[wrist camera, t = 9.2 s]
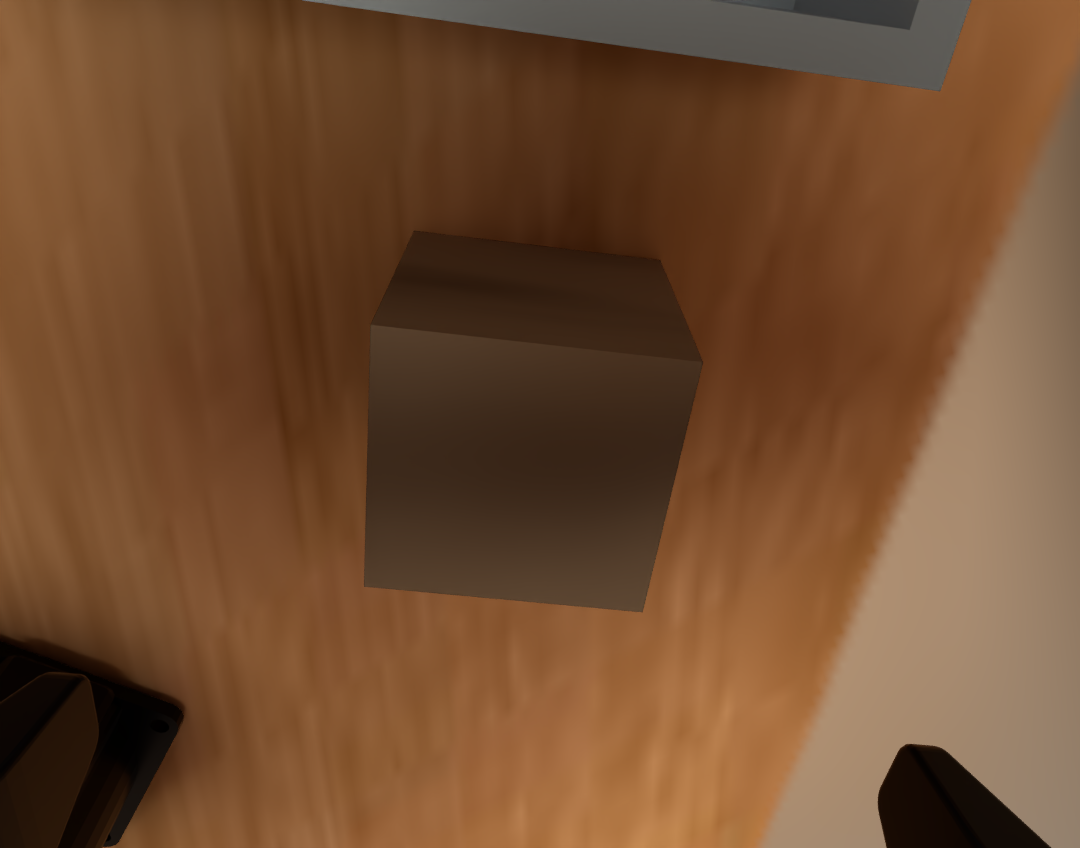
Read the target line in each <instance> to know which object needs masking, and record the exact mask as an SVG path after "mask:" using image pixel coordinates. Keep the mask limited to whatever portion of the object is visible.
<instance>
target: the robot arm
mask: <svg viewBox="0 0 1080 848" xmlns="http://www.w3.org/2000/svg"><path fill="white" fill-rule="evenodd" d="M183 718H184V715H183V713H182V711H181V710H180V709H179V708H178V707H177V706H175V705H173V704H171V703H169V702H166V701H163V700H160V699H158V698H155V697H152V696H149V695H147V694H144V693H141V692H138V691H136V690H133V689H130V688H127V687H125V686H122V685H119V684H116V683H114V682H111V681H108V680H105V679H103V678H100V677H97V676H94V675H92V674H89V673H86V672H83V671H81V670H78V669H75V668H72V667H70V666H67V665H64V664H61V663H59V662H56V661H53V660H50V659H48V658H45V657H42V656H39V655H37V654H34V653H31V652H28V651H26V650H23V649H20V648H17V647H15V646H12V645H9V644H6V643H4V642H1V641H0V848H102V847H110V846H113V845H116V844H117V843H118V842H119V840H120V839H121V837H122V835H123V833H124V831H125V829H126V827H127V826H128V824H129V822H130V820H131V818H132V816H133V814H134V813H135V811H136V809H137V807H138V805H139V803H140V801H141V800H142V798H143V796H144V794H145V792H146V790H147V788H148V786H149V785H150V783H151V781H152V779H153V777H154V775H155V773H156V772H157V770H158V768H159V766H160V764H161V762H162V760H163V759H164V757H165V755H166V753H167V751H168V749H169V747H170V746H171V744H172V742H173V740H174V738H175V736H176V734H177V732H178V730H179V728H180V726H181V724H182V722H183ZM878 810H879V816H880V820H881V824H882V829H883V834H884V838H885V842H886V847H887V848H1051V847H1050V846H1049V845H1048V844H1047V843H1045V842H1044V841H1043V840H1042V839H1041V838H1040V837H1039V836H1038V835H1037V834H1036V833H1035V832H1033V830H1031V829H1030V828H1029V827H1028V826H1027V825H1026V824H1025V823H1024V822H1022V820H1021V819H1019V818H1018V817H1017V816H1016V815H1015V814H1014V813H1013V812H1012V811H1011V810H1010V809H1008V807H1006V806H1005V805H1004V804H1003V803H1002V802H1001V801H1000V800H999V799H998V798H997V797H996V796H995V795H993V794H992V793H991V792H990V791H989V790H988V789H987V788H986V787H985V786H984V785H983V784H981V783H980V782H979V781H978V780H977V779H976V778H975V777H974V776H973V775H971V773H970V772H968V771H967V770H966V769H965V768H964V767H963V766H962V765H961V764H960V763H959V762H958V761H957V760H955V759H954V758H953V757H952V756H951V755H950V754H949V753H948V752H946V751H945V750H943V749H942V748H940V747H936V746H929V745H917V744H906V745H905V746H903V747H902V748H900V750H899V751H898V753H897V755H896V757H895V759H894V761H893V763H892V765H891V767H890V769H889V771H888V773H887V775H886V777H885V779H884V781H883V784H882V785H881V787H880V790H879V795H878Z"/></svg>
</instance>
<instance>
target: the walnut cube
mask: <svg viewBox="0 0 1080 848" xmlns="http://www.w3.org/2000/svg"><path fill="white" fill-rule="evenodd" d="M702 364H703V361H702V359H701V356H700V354H699V351H698V349H697V347H696V344H695V342H694V340H693V337H692V335H691V332H690V330H689V328H688V325H687V323H686V321H685V318H684V316H683V313H682V311H681V309H680V306H679V304H678V301H677V299H676V297H675V294H674V292H673V290H672V287H671V285H670V282H669V280H668V278H667V275H666V273H665V271H664V268H663V266H662V263H661V261H660V260H654V259H646V258H637V257H629V256H620V255H612V254H604V253H595V252H587V251H579V250H570V249H562V248H553V247H545V246H537V245H528V244H520V243H512V242H503V241H495V240H487V239H478V238H470V237H461V236H453V235H445V234H436V233H428V232H420V231H414V232H413V234H412V236H411V238H410V241H409V243H408V245H407V247H406V249H405V251H404V254H403V256H402V258H401V260H400V262H399V264H398V267H397V269H396V271H395V273H394V275H393V277H392V280H391V282H390V284H389V286H388V288H387V290H386V293H385V295H384V297H383V299H382V301H381V303H380V306H379V308H378V310H377V312H376V314H375V316H374V318H373V321H372V323H371V327H370V367H369V408H368V448H367V488H366V528H365V569H364V587H374V588H385V589H396V590H407V591H418V592H429V593H439V594H450V595H461V596H472V597H483V598H494V599H504V600H515V601H526V602H537V603H548V604H559V605H569V606H580V607H591V608H602V609H613V610H624V611H634V612H643V608H644V604H645V600H646V596H647V592H648V588H649V583H650V579H651V575H652V571H653V567H654V563H655V559H656V554H657V550H658V546H659V542H660V538H661V534H662V530H663V526H664V521H665V517H666V513H667V509H668V505H669V501H670V497H671V492H672V488H673V484H674V480H675V476H676V472H677V468H678V464H679V459H680V455H681V451H682V447H683V443H684V439H685V435H686V430H687V426H688V422H689V418H690V414H691V410H692V406H693V402H694V397H695V393H696V389H697V385H698V381H699V377H700V373H701V369H702Z"/></svg>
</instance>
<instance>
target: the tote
mask: <svg viewBox="0 0 1080 848" xmlns="http://www.w3.org/2000/svg"><path fill="white" fill-rule="evenodd" d="M304 1H311V2H318V3H325V4H332V5H339V6H346V7H353V8H360V9H367V10H374V11H381V12H388V13H395V14H402V15H409V16H416V17H423V18H430V19H437V20H444V21H451V22H458V23H465V24H472V25H479V26H486V27H493V28H500V29H507V30H514V31H521V32H528V33H535V34H542V35H549V36H556V37H563V38H570V39H577V40H584V41H591V42H598V43H605V44H612V45H619V46H626V47H633V48H640V49H647V50H654V51H661V52H668V53H675V54H682V55H689V56H696V57H704V58H711V59H718V60H725V61H732V62H739V63H746V64H753V65H760V66H767V67H774V68H781V69H788V70H795V71H802V72H809V73H816V74H823V75H830V76H837V77H844V78H851V79H858V80H865V81H872V82H879V83H886V84H893V85H900V86H907V87H914V88H921V89H928V90H935V91H940V90H941V87H942V84H943V82H944V79H945V76H946V73H947V70H948V67H949V64H950V61H951V58H952V55H953V52H954V49H955V46H956V44H957V41H958V38H959V35H960V32H961V29H962V26H963V23H964V20H965V17H966V14H967V11H968V8H969V6H970V3H971V0H304Z"/></svg>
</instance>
